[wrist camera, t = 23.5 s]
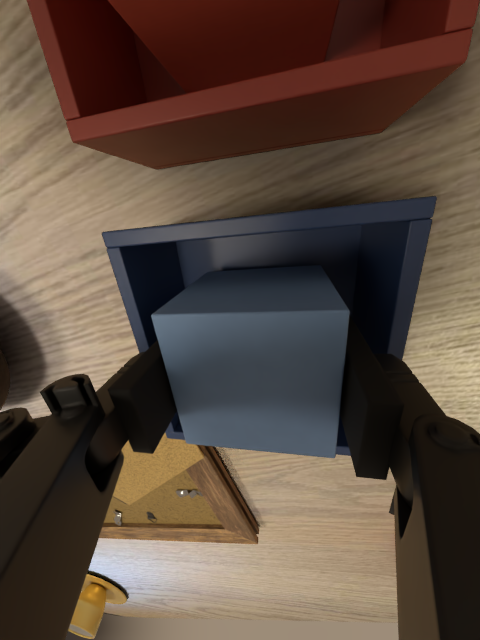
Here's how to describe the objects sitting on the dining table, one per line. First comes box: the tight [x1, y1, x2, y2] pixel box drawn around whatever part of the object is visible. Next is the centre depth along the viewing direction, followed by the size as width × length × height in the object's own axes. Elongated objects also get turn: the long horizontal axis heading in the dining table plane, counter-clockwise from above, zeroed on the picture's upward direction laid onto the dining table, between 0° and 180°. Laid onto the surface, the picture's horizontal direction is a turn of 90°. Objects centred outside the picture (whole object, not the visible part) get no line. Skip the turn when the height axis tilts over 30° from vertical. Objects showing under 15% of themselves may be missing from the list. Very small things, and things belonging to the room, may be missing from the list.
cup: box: [68, 574, 127, 639], centre depth 42 cm, size 12×12×5 cm
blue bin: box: [102, 196, 437, 456], centre depth 13 cm, size 11×11×6 cm
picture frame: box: [99, 433, 259, 544], centre depth 25 cm, size 19×2×24 cm
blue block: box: [151, 265, 350, 458], centre depth 11 cm, size 6×6×6 cm
